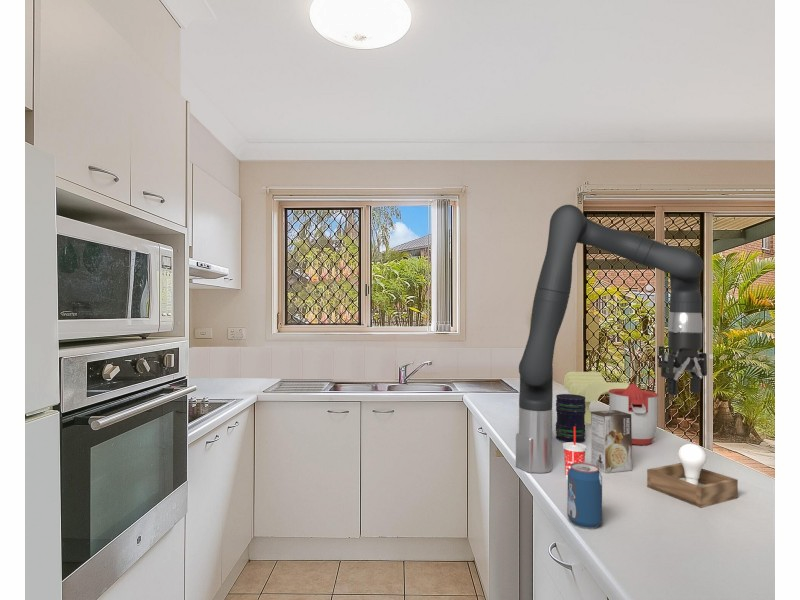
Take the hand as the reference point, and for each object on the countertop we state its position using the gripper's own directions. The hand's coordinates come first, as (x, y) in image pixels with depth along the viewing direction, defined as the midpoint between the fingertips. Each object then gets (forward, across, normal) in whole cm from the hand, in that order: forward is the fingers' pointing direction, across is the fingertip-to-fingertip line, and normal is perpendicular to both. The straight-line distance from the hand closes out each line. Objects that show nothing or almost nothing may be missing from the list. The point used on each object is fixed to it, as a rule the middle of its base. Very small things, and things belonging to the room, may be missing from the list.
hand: (684, 393), depth 123 cm
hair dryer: (+25, -38, -66) cm, 80 cm away
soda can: (+25, +38, +4) cm, 45 cm away
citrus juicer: (+25, -26, -36) cm, 51 cm away
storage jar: (+25, -8, -47) cm, 54 cm away
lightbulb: (+24, -1, +2) cm, 24 cm away
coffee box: (+25, +4, -19) cm, 31 cm away
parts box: (+24, 0, +2) cm, 24 cm away
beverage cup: (+25, +20, -17) cm, 36 cm away
